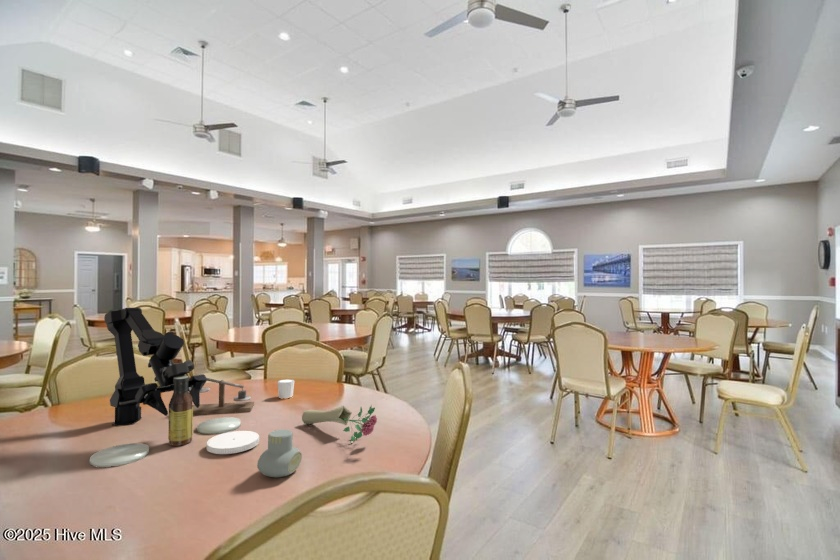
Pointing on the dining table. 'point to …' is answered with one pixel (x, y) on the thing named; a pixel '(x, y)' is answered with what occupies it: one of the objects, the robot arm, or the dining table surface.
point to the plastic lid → (232, 442)
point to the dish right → (219, 425)
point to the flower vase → (342, 419)
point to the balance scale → (223, 406)
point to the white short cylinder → (285, 388)
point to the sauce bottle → (180, 413)
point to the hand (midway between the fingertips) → (183, 410)
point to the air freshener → (279, 455)
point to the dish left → (119, 455)
